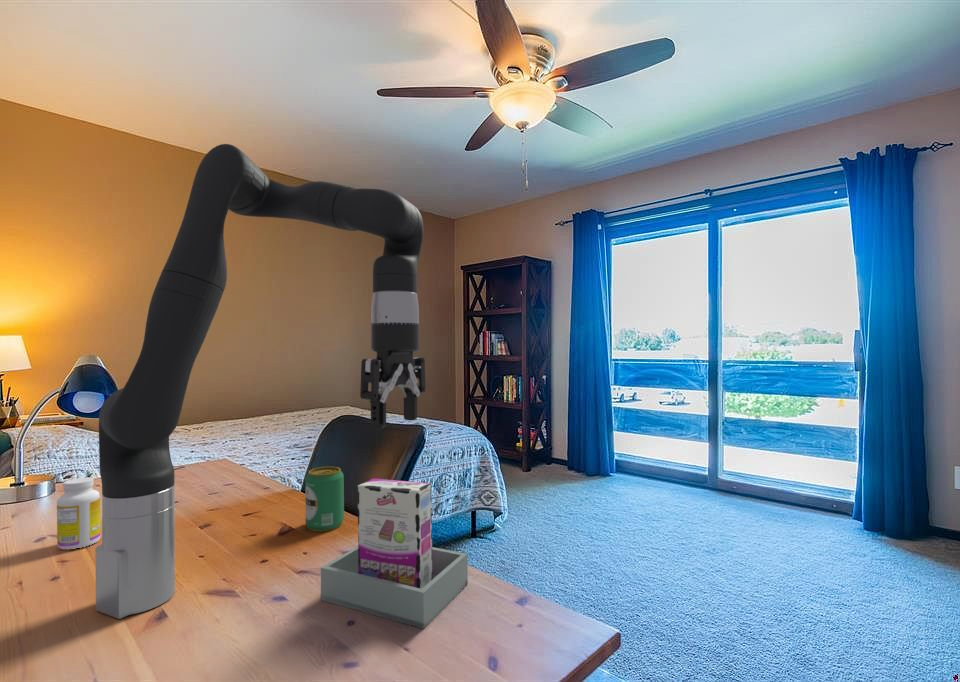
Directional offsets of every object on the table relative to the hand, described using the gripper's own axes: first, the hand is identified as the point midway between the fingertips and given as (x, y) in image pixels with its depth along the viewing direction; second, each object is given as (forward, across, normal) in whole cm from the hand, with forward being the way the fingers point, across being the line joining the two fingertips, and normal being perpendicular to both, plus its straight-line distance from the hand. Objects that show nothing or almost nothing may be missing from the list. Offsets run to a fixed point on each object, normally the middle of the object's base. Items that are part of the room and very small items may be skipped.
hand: (395, 423), depth 77 cm
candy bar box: (+26, 0, 0) cm, 26 cm away
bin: (+27, 0, 0) cm, 27 cm away
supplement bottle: (+27, -11, +69) cm, 75 cm away
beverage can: (+27, +18, +31) cm, 45 cm away
